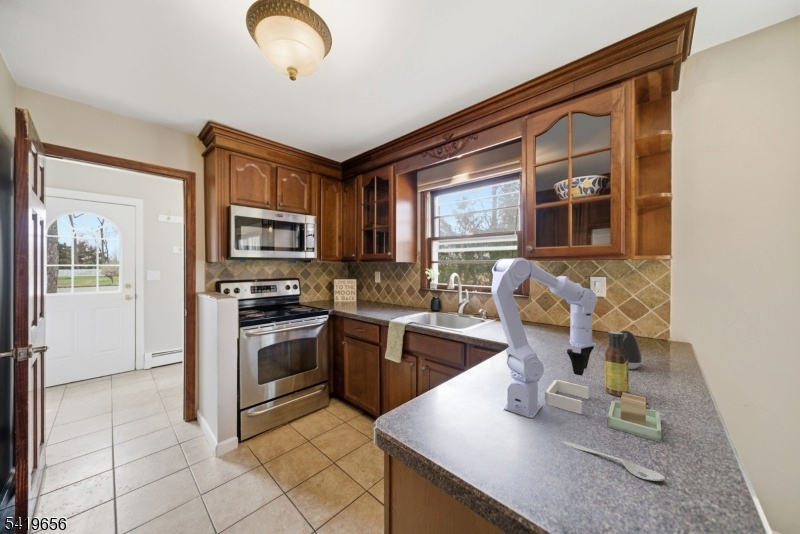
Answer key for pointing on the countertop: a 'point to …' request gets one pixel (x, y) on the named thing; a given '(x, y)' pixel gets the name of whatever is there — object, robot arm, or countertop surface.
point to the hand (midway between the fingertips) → (580, 371)
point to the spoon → (629, 466)
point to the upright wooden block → (634, 408)
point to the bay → (563, 401)
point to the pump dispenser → (631, 350)
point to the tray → (648, 431)
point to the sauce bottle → (616, 365)
